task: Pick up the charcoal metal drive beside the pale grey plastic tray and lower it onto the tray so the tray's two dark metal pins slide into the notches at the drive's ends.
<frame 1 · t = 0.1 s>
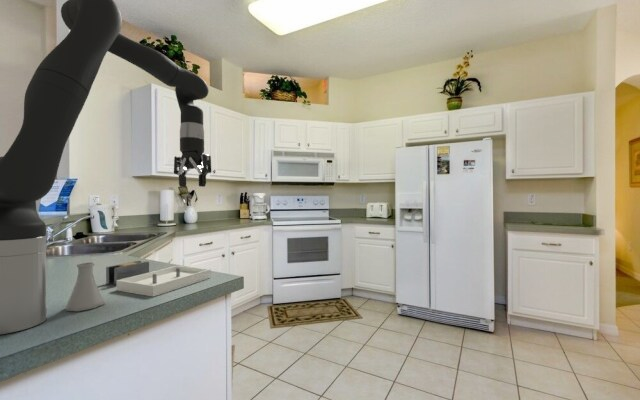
hand: (192, 186, 100), 29 cm above the table, fingers open, 8 cm apart
drive: (128, 280, 92), on the table
flask: (85, 307, 69), on the table
tray: (166, 283, 88), on the table
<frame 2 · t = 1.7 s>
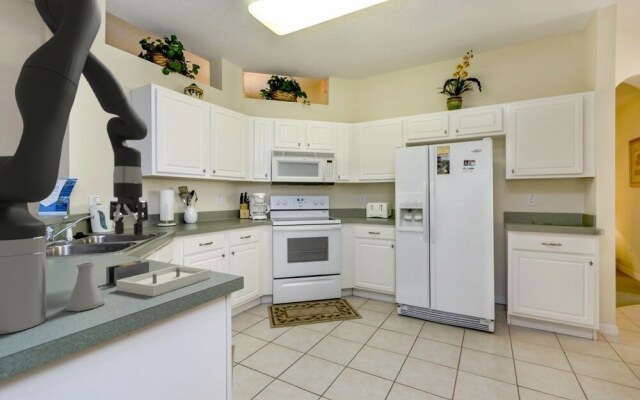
hand: (128, 234, 92), 14 cm above the table, fingers open, 8 cm apart
nothing on the table moved.
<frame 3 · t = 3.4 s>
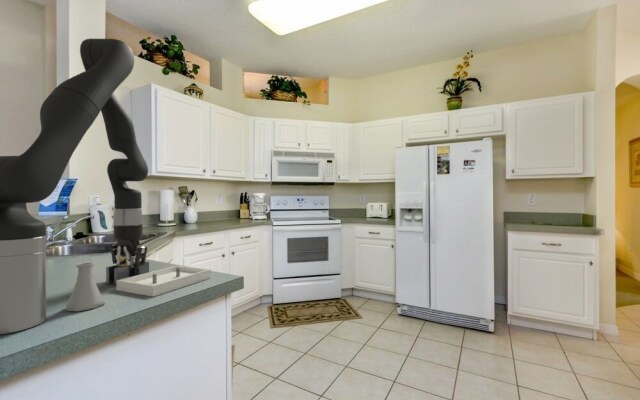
hand: (128, 278, 92), 1 cm above the table, fingers closed on drive, 5 cm apart
drive: (128, 280, 92), on the table, touching gripper
everything else where it was.
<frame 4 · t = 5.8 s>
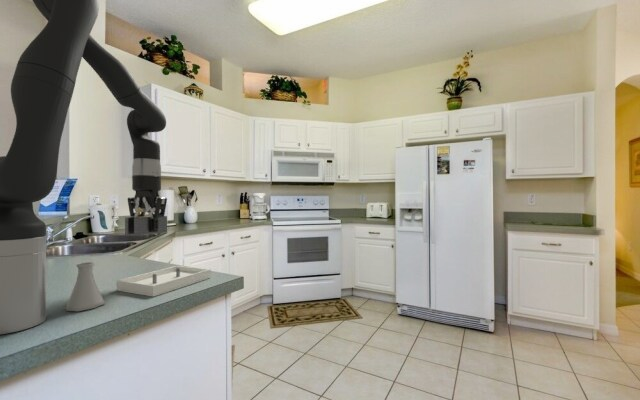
hand: (147, 231, 90), 15 cm above the table, fingers closed on drive, 5 cm apart
drive: (146, 233, 90), point 15 cm above the table, touching gripper
everything else where it was.
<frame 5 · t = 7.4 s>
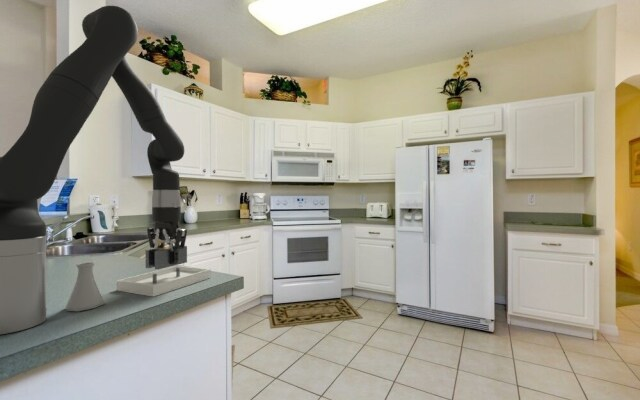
hand: (167, 262, 88), 6 cm above the table, fingers closed on drive, 5 cm apart
drive: (167, 265, 88), point 5 cm above the table, touching gripper
everything else where it was.
when the fingers open (3 cm above the table, at t = 8.5 s): drive drops 1 cm, resting on tray.
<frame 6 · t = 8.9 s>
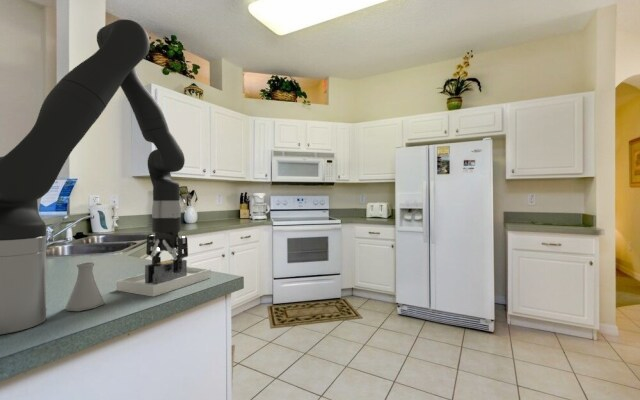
hand: (166, 271, 88), 4 cm above the table, fingers open, 8 cm apart
drive: (166, 279, 88), point 1 cm above the table, touching tray
everything else where it was.
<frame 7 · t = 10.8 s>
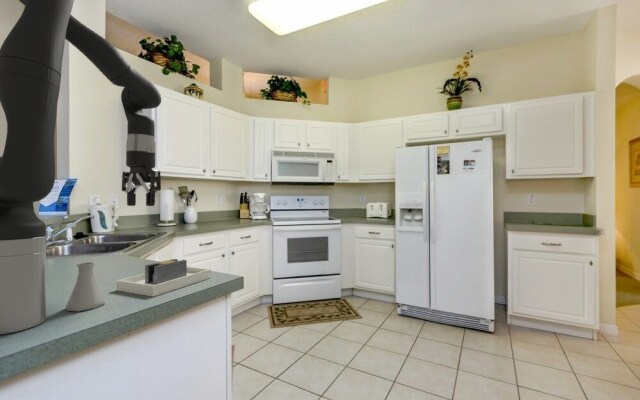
hand: (140, 205, 89), 23 cm above the table, fingers open, 8 cm apart
nothing on the table moved.
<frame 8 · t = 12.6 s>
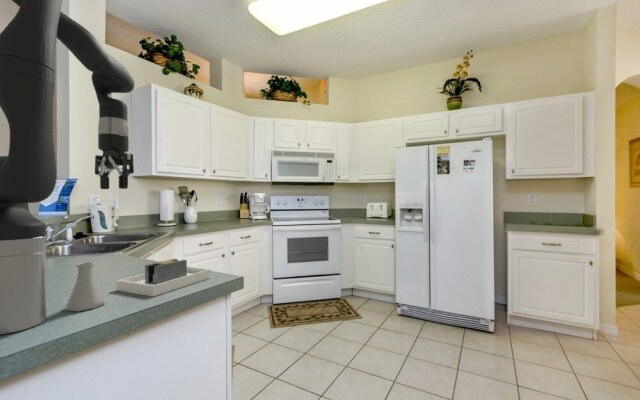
hand: (113, 188, 90), 28 cm above the table, fingers open, 8 cm apart
nothing on the table moved.
at the end: drive 0.1 cm off-centre on the tray, point 1.2 cm above the tray's base; drive tilted 0°; the gripper is holding nothing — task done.
